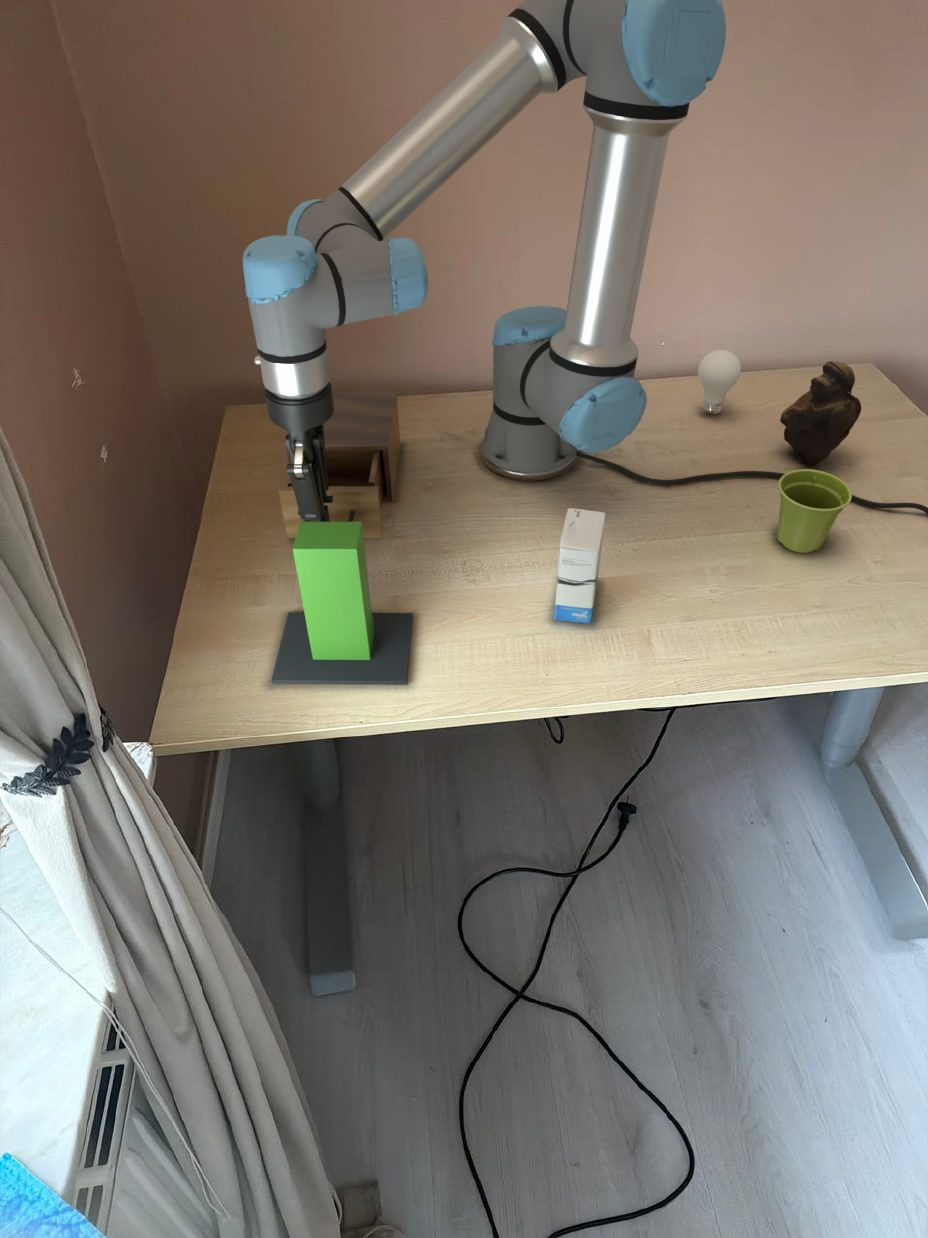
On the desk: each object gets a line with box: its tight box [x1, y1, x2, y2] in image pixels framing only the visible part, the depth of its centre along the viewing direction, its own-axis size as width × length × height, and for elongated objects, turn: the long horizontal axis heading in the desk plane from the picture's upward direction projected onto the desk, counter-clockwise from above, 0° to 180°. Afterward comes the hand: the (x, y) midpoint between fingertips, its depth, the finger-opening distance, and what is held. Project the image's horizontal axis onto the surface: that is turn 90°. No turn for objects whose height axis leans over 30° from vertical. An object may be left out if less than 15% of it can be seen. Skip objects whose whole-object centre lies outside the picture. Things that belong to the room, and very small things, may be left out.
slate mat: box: [270, 611, 414, 686], centre depth 110 cm, size 16×12×1 cm
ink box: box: [553, 507, 606, 625], centre depth 112 cm, size 8×5×12 cm, turn 168°
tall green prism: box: [292, 522, 374, 660], centre depth 104 cm, size 7×5×17 cm
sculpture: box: [779, 360, 862, 467], centre depth 135 cm, size 11×11×15 cm
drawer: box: [278, 451, 385, 539], centre depth 127 cm, size 19×13×8 cm
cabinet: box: [285, 391, 401, 503], centre depth 136 cm, size 16×15×10 cm
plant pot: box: [776, 468, 853, 554], centre depth 122 cm, size 9×9×9 cm
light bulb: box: [697, 349, 742, 415], centre depth 147 cm, size 7×7×11 cm
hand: (322, 549), depth 117 cm, fingers closed
